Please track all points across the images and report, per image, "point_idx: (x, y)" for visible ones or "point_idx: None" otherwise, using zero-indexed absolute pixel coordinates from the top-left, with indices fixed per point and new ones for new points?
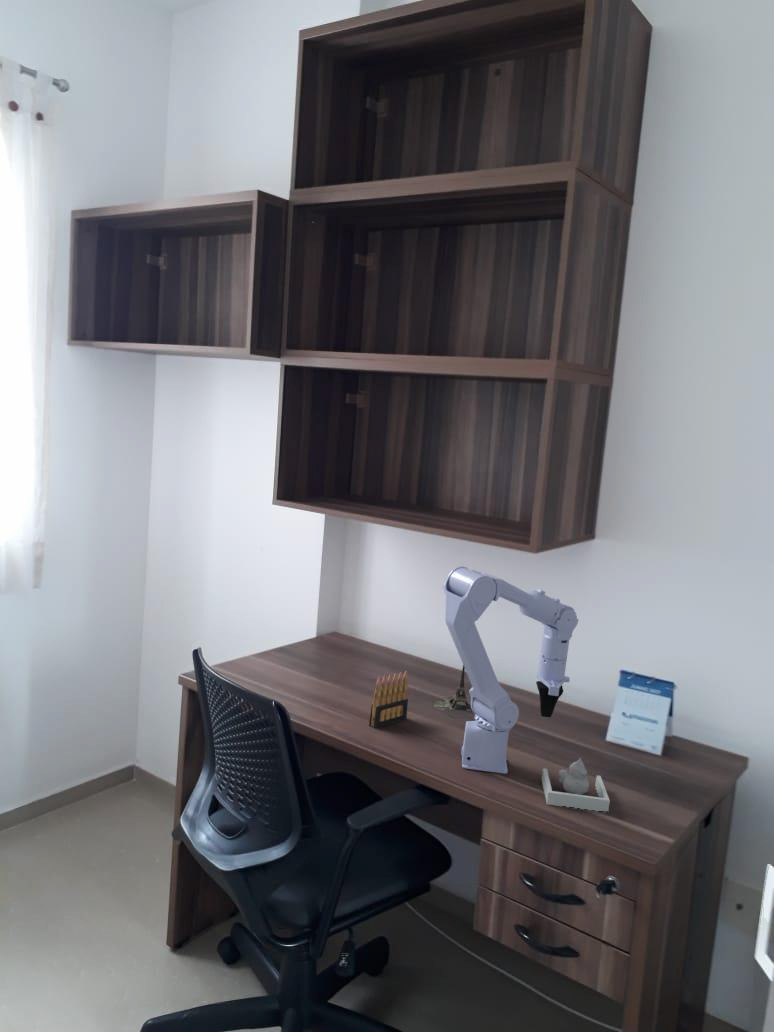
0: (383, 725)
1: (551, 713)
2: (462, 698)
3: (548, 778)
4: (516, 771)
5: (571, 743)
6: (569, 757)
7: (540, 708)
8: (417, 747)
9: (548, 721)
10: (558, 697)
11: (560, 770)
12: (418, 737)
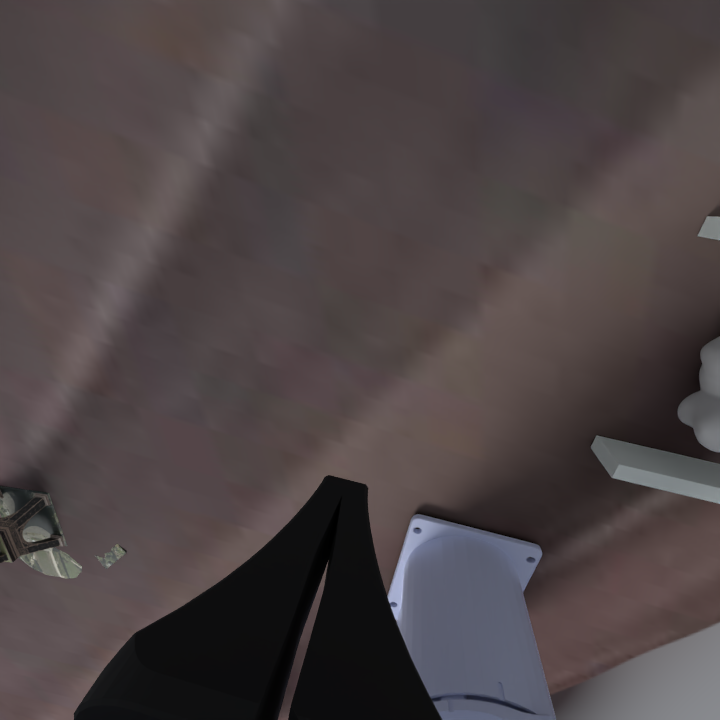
0: None
1: (366, 507)
2: (8, 542)
3: (718, 490)
4: (513, 506)
5: (213, 190)
6: (372, 256)
7: (323, 573)
8: None
9: (3, 228)
10: (413, 667)
11: (718, 449)
12: (295, 667)
